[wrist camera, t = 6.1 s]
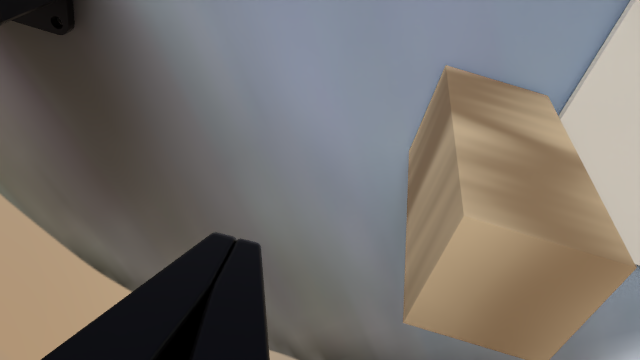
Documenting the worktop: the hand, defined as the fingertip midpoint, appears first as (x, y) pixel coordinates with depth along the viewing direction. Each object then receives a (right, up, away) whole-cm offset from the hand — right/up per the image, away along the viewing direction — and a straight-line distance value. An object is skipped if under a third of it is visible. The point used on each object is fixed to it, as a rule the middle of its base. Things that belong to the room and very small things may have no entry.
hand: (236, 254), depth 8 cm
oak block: (+8, +3, +11) cm, 14 cm away
